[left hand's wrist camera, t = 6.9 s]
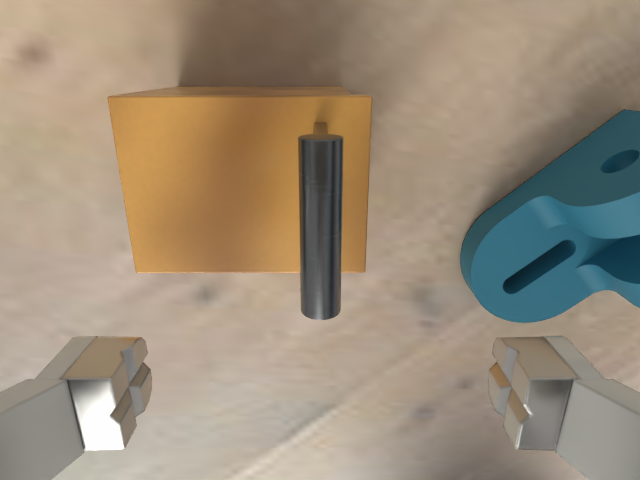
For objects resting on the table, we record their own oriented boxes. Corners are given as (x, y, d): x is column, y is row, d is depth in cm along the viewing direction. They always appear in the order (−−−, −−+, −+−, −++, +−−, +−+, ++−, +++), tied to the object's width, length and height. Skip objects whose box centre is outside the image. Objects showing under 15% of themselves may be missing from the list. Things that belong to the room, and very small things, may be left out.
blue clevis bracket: (624, 109, 35) (741, 125, 26) (681, 206, 38) (806, 255, 28) (436, 247, 40) (475, 306, 30) (500, 325, 42) (555, 403, 33)
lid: (369, 94, 24) (394, 107, 16) (363, 264, 28) (381, 342, 20) (116, 94, 24) (18, 108, 16) (142, 264, 28) (73, 343, 20)
